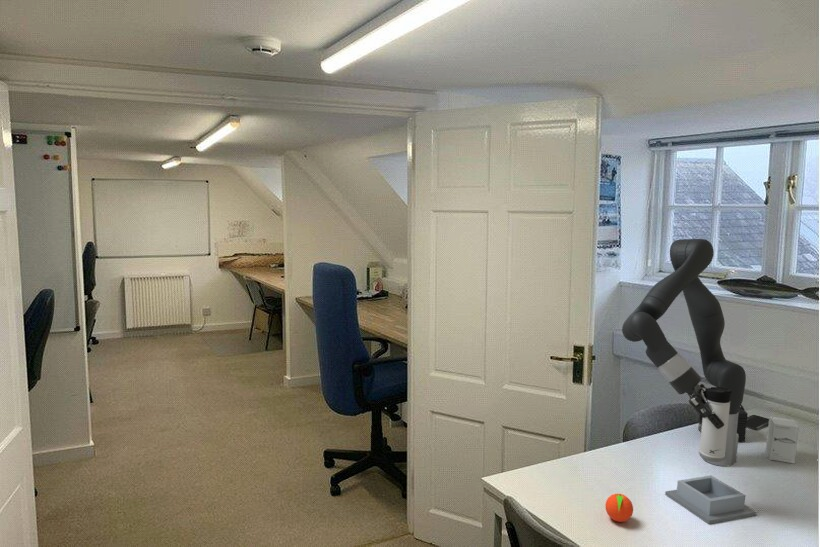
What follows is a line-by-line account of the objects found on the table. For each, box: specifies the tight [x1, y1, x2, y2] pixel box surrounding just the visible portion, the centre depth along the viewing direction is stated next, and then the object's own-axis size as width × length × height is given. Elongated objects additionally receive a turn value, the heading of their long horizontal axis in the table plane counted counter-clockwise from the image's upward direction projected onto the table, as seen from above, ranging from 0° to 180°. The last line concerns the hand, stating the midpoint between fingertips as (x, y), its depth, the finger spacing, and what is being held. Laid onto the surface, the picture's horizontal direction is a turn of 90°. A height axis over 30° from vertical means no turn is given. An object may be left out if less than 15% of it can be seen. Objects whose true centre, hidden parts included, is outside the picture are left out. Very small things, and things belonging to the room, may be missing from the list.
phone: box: [746, 414, 769, 431], centre depth 227 cm, size 8×1×15 cm
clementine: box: [605, 493, 634, 523], centre depth 156 cm, size 8×7×7 cm
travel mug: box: [698, 386, 732, 462], centre depth 163 cm, size 6×7×20 cm
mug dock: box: [664, 474, 757, 525], centre depth 165 cm, size 16×16×5 cm
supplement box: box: [765, 416, 800, 464], centre depth 196 cm, size 7×7×13 cm
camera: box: [697, 404, 749, 443], centre depth 214 cm, size 11×14×15 cm
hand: (722, 422), depth 162 cm, fingers closed on travel mug, 6 cm apart
